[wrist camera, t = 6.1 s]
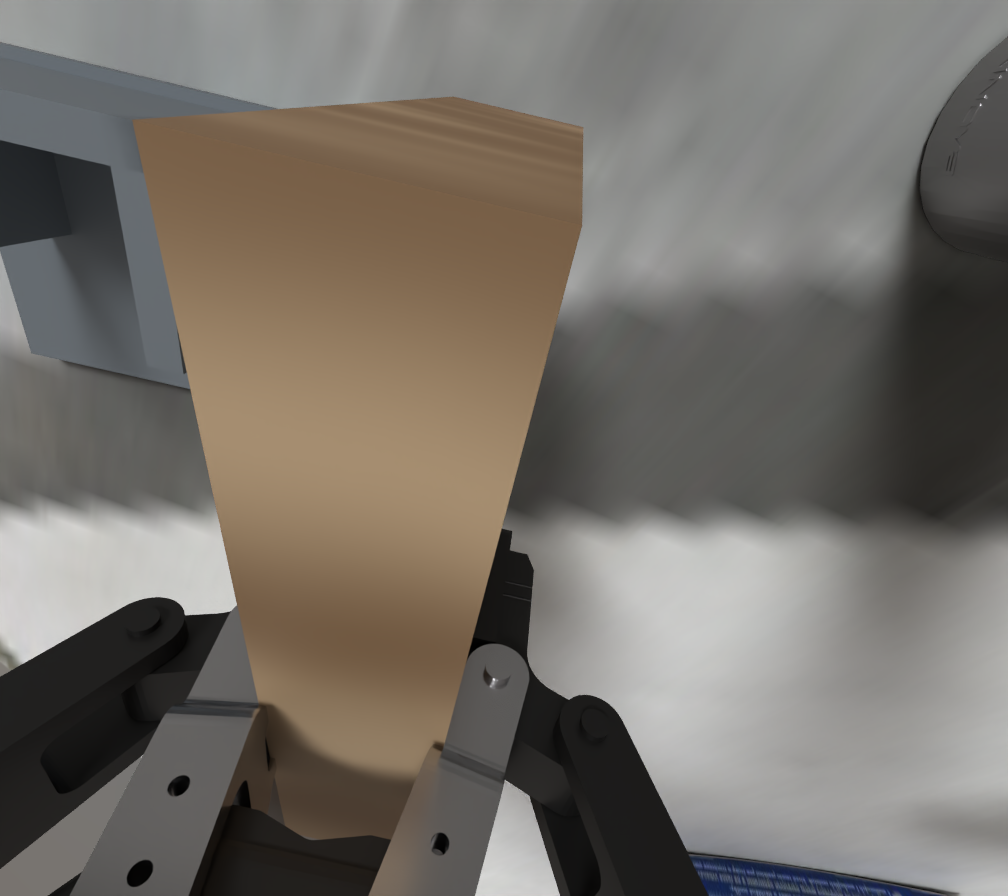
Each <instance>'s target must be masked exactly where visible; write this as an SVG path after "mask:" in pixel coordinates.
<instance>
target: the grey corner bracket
mask: <svg viewBox="0 0 1008 896" xmlns="http://www.w3.org/2000/svg"><path fill="white" fill-rule="evenodd" d="M275 109H276V108H272V107H267V106H263V105H259V104H255V103H251V102H247V101H242V100H238V99H234V98H230V97H226V96H222V95H218V94H213V93H209V92H205V91H201V90H197V89H193V88H189V87H184V86H180V85H176V84H172V83H168V82H164V81H159V80H155V79H151V78H147V77H143V76H139V75H135V74H130V73H126V72H122V71H118V70H114V69H110V68H106V67H101V66H97V65H93V64H89V63H85V62H81V61H76V60H72V59H68V58H64V57H60V56H56V55H52V54H47V53H43V52H39V51H35V50H31V49H27V48H23V47H18V46H14V45H10V44H6V43H2V42H0V252H1V255H2V259H3V262H4V265H5V268H6V272H7V275H8V278H9V281H10V285H11V288H12V291H13V294H14V298H15V301H16V304H17V307H18V311H19V314H20V317H21V321H22V324H23V327H24V330H25V334H26V337H27V340H28V343H29V347H30V350H31V353H33V354H37V355H42V356H46V357H50V358H55V359H59V360H64V361H68V362H73V363H77V364H81V365H86V366H90V367H95V368H99V369H104V370H108V371H112V372H117V373H121V374H126V375H130V376H135V377H139V378H143V379H148V380H152V381H157V382H161V383H166V384H170V385H174V386H179V387H183V388H188V389H190V385H189V380H188V375H187V371H186V366H185V361H184V357H183V352H182V348H181V343H180V338H179V334H178V329H177V324H176V320H175V315H174V311H173V306H172V301H171V297H170V292H169V288H168V283H167V278H166V274H165V269H164V264H163V260H162V255H161V251H160V246H159V241H158V237H157V232H156V228H155V223H154V218H153V214H152V209H151V204H150V200H149V195H148V191H147V186H146V181H145V177H144V172H143V168H142V163H141V158H140V154H139V149H138V144H137V140H136V135H135V131H134V126H133V121H132V120H135V119H149V118H163V117H177V116H191V115H205V114H219V113H233V112H247V111H261V110H275Z"/></svg>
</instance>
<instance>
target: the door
mask: <svg viewBox="0 0 1008 896" xmlns="http://www.w3.org/2000/svg"><path fill="white" fill-rule="evenodd" d="M132 121H133V126H134V131H135V135H136V140H137V144H138V149H139V154H140V158H141V163H142V168H143V172H144V177H145V181H146V186H147V191H148V195H149V200H150V204H151V209H152V214H153V218H154V223H155V228H156V232H157V237H158V241H159V246H160V251H161V255H162V260H163V264H164V269H165V274H166V278H167V283H168V288H169V292H170V297H171V301H172V306H173V311H174V315H175V320H176V324H177V329H178V334H179V338H180V343H181V348H182V352H183V357H184V361H185V366H186V371H187V375H188V380H189V385H190V389H191V394H192V398H193V403H194V408H195V412H196V417H197V421H198V426H199V431H200V435H201V440H202V445H203V449H204V454H205V458H206V463H207V468H208V472H209V477H210V481H211V486H212V491H213V495H214V500H215V505H216V509H217V514H218V518H219V523H220V528H221V532H222V537H223V541H224V546H225V551H226V555H227V560H228V565H229V569H230V574H231V578H232V583H233V588H234V592H235V597H236V601H237V606H238V611H239V615H240V620H241V625H242V629H243V634H244V638H245V643H246V648H247V652H248V657H249V661H250V666H251V671H252V675H253V680H254V685H255V689H256V694H257V698H258V703H259V705H264V706H266V708H267V714H268V720H269V722H268V726H267V731H266V740H267V745H268V749H269V754H270V757H271V758H275V761H276V766H277V769H276V773H275V776H274V780H273V785H272V790H271V798H270V804H269V810H268V814H267V815H268V816H270V817H272V818H273V819H275V820H276V821H278V822H280V823H281V824H283V825H285V826H286V827H288V828H289V829H291V830H293V831H294V832H296V833H297V834H299V835H301V836H302V837H304V838H306V839H309V840H322V839H333V838H344V837H356V836H367V835H373V836H377V837H382V838H386V839H392V837H393V834H394V832H395V830H396V827H397V825H398V822H399V820H400V817H401V815H402V812H403V810H404V808H405V805H406V803H407V800H408V798H409V795H410V793H411V790H412V788H413V786H414V783H415V781H416V778H417V776H418V773H419V771H420V768H421V766H422V764H423V761H424V759H425V757H426V755H427V752H428V750H429V749H430V747H432V745H433V744H436V745H440V746H444V744H445V740H446V736H447V733H448V729H449V725H450V721H451V717H452V714H453V710H454V706H455V702H456V699H457V695H458V691H459V687H460V684H461V680H462V676H463V672H464V668H465V665H466V661H467V657H468V653H469V650H470V646H471V642H472V638H473V635H474V631H475V627H476V623H477V619H478V616H479V612H480V608H481V604H482V601H483V597H484V593H485V589H486V585H487V582H488V578H489V574H490V570H491V567H492V563H493V559H494V555H495V552H496V548H497V544H498V540H499V536H500V533H501V529H502V525H503V521H504V518H505V514H506V510H507V506H508V503H509V499H510V495H511V491H512V487H513V484H514V480H515V476H516V472H517V469H518V465H519V461H520V457H521V454H522V450H523V446H524V442H525V438H526V435H527V431H528V427H529V423H530V420H531V416H532V412H533V408H534V404H535V401H536V397H537V393H538V389H539V386H540V382H541V378H542V374H543V371H544V367H545V363H546V359H547V355H548V352H549V348H550V344H551V340H552V337H553V333H554V329H555V325H556V322H557V318H558V314H559V310H560V306H561V303H562V299H563V295H564V291H565V288H566V284H567V280H568V276H569V272H570V269H571V265H572V261H573V257H574V254H575V250H576V246H577V242H578V239H579V235H580V231H581V227H582V185H583V127H580V126H575V125H571V124H567V123H563V122H558V121H554V120H550V119H546V118H542V117H537V116H533V115H529V114H525V113H520V112H516V111H512V110H508V109H503V108H499V107H495V106H491V105H486V104H482V103H478V102H474V101H469V100H465V99H461V98H457V97H443V98H429V99H415V100H401V101H387V102H373V103H359V104H345V105H331V106H317V107H303V108H289V109H275V110H261V111H247V112H233V113H219V114H205V115H191V116H177V117H163V118H149V119H135V120H132Z"/></svg>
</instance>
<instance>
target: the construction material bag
mask: <svg viewBox="0 0 1008 896" xmlns="http://www.w3.org/2000/svg"><path fill="white" fill-rule="evenodd" d="M688 855H689V857H690V859H691V861H692V863H693V865H694V867H695V869H696V871H697V873H698V875H699V877H700V879H701V881H702V883H703V885H704V887H705V889H706V891H707V893H708V895H709V896H948V895H944V894H940V893H935V892H930V891H925V890H920V889H915V888H910V887H905V886H900V885H895V884H890V883H885V882H879V881H874V880H869V879H864V878H859V877H853V876H848V875H842V874H837V873H831V872H826V871H820V870H814V869H808V868H802V867H795V866H789V865H782V864H775V863H768V862H760V861H752V860H744V859H735V858H726V857H716V856H705V855H694V854H688Z"/></svg>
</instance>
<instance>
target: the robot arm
mask: <svg viewBox="0 0 1008 896" xmlns="http://www.w3.org/2000/svg"><path fill="white" fill-rule="evenodd" d="M920 194H921V199H922V205H923V210H924V213H925V215H926V217H927V219H928V221H929V223H930V225H931V227H932V229H933V230H934V231H935V232H936V233H937V234H938V235H939V236H940V237H941V238H942V239H943V240H944V241H945V242H947V243H948V244H950V245H952V246H954V247H956V248H958V249H960V250H961V251H965V252H969V253H973V254H976V255H980V256H984V257H988V258H992V259H996V260H1000V261H1003V262H1007V263H1008V37H1007V38H1005V39H1004V40H1003V41H1002V42H1001V43H1000V44H999V45H998V46H996V47H995V48H994V49H993V50H992V51H991V52H990V53H988V54H987V55H986V56H985V57H984V58H983V59H982V60H981V61H980V62H979V63H978V64H977V65H976V66H975V68H974V69H973V70H972V71H971V72H970V73H969V74H968V76H967V77H966V78H965V79H964V80H963V81H962V82H961V84H960V85H959V86H958V88H957V89H956V91H955V92H954V94H953V95H952V97H951V98H950V100H949V101H948V103H947V104H946V106H945V107H944V109H943V110H942V112H941V114H940V116H939V118H938V120H937V122H936V125H935V127H934V129H933V131H932V133H931V135H930V138H929V140H928V143H927V147H926V151H925V154H924V158H923V162H922V166H921V179H920ZM511 538H512V531H509V530H505V529H501V533H500V536H499V540H498V544H497V548H496V552H495V555H494V559H493V563H492V567H491V570H490V574H489V578H488V582H487V585H486V589H485V593H484V597H483V601H482V604H481V608H480V612H479V616H478V619H477V623H476V627H475V631H474V635H473V638H472V642H471V646H470V650H469V653H468V657H467V661H466V665H465V668H464V672H463V676H462V680H461V684H460V687H459V691H458V695H457V699H456V702H455V706H454V710H453V714H452V717H451V721H450V725H449V729H448V733H447V736H446V740H445V744H444V746H440V745H436V744H433V745H432V747H430V749H429V750H428V752H427V755H426V757H425V759H424V761H423V764H422V766H421V768H420V771H419V773H418V776H417V778H416V781H415V783H414V786H413V788H412V790H411V793H410V795H409V798H408V800H407V803H406V805H405V808H404V810H403V812H402V815H401V817H400V820H399V822H398V825H397V827H396V830H395V832H394V834H393V837H392V839H386V838H382V837H377V836H373V835H367V836H356V837H344V838H333V839H322V840H309V839H306V838H304V837H302V836H301V835H299V834H297V833H296V832H294V831H293V830H291V829H289V828H288V827H286V826H285V825H283V824H281V823H280V822H278V821H276V820H275V819H273V818H272V817H270V816H268V815H267V814H268V810H269V804H270V798H271V790H272V785H273V780H274V776H275V773H276V769H277V766H276V761H275V758H271V757H270V754H269V749H268V745H267V740H266V731H267V726H268V722H269V720H268V714H267V708H266V706H264V705H259V703H258V698H257V694H256V689H255V685H254V680H253V675H252V671H251V666H250V661H249V657H248V652H247V648H246V643H245V638H244V634H243V629H242V625H241V620H240V615H239V611H238V606H236V607H234V609H233V610H232V611H230V612H226V613H219V614H203V615H185V614H184V610H183V608H182V606H181V605H180V604H179V603H177V602H176V601H174V600H171V599H168V598H160V597H155V598H147V599H142V600H139V601H136V602H133V603H130V604H128V605H126V606H124V607H123V608H121V609H119V610H117V611H116V612H114V613H112V614H110V615H108V616H107V617H105V618H103V619H101V620H100V621H98V622H96V623H94V624H93V625H91V626H89V627H87V628H86V629H84V630H82V631H80V632H78V633H77V634H75V635H73V636H71V637H70V638H68V639H66V640H64V641H63V642H61V643H59V644H57V645H56V646H54V647H52V648H50V649H48V650H47V651H45V652H43V653H41V654H40V655H38V656H36V657H34V658H33V659H31V660H29V661H27V662H26V663H24V664H22V665H20V666H18V667H17V668H15V669H13V670H11V671H10V672H8V673H6V674H4V675H3V676H1V677H0V869H1V868H2V867H3V866H4V865H6V864H7V863H8V862H9V861H11V860H12V859H13V858H14V857H16V856H17V855H18V854H19V853H20V852H22V851H23V850H24V849H25V848H27V847H28V846H29V845H31V844H32V843H33V842H34V841H36V840H37V839H38V838H39V837H41V836H42V835H43V834H44V833H45V832H47V831H48V830H49V829H51V828H52V827H53V826H54V825H56V824H57V823H58V822H59V821H60V820H62V819H63V818H64V817H66V816H67V815H68V814H69V813H71V812H72V811H73V810H74V809H76V808H77V807H78V806H79V805H81V804H82V803H83V802H84V801H86V800H87V799H88V798H89V797H91V796H92V795H93V794H94V793H96V792H97V791H98V790H99V789H100V788H102V787H103V786H104V785H106V784H107V783H108V782H109V781H111V780H112V779H113V778H114V777H115V776H116V775H118V774H119V773H121V772H122V771H123V770H124V769H126V768H127V767H128V766H129V765H130V764H132V763H133V762H134V761H136V760H137V759H138V758H139V757H141V756H142V755H143V754H144V755H143V756H142V758H141V760H140V762H139V764H138V766H137V768H136V770H135V772H134V774H133V776H132V778H131V780H130V782H129V783H128V785H127V787H126V789H125V791H124V793H123V795H122V797H121V798H120V800H119V802H118V804H117V806H116V808H115V810H114V812H113V814H112V816H111V818H110V819H109V821H108V823H107V825H106V827H105V829H104V831H103V833H102V835H101V837H100V839H99V841H98V843H97V845H96V846H95V848H94V850H93V852H92V854H91V856H90V858H89V860H88V862H87V863H86V866H85V867H84V869H83V871H82V872H81V873H80V874H78V875H77V876H75V877H74V878H73V879H71V880H70V881H68V882H67V883H65V884H64V885H62V886H61V887H60V888H58V889H57V890H55V891H54V892H52V893H51V894H50V895H48V896H475V893H476V889H477V885H478V882H479V878H480V874H481V870H482V866H483V862H484V859H485V855H486V851H487V847H488V843H489V840H490V836H491V832H492V828H493V824H494V820H495V817H496V813H497V809H498V805H499V801H500V798H501V794H502V790H503V785H504V780H506V781H508V782H510V783H511V784H513V785H514V786H516V787H517V788H519V789H520V790H522V791H523V792H525V793H526V794H528V795H529V796H530V799H531V803H532V806H533V809H534V813H535V816H536V819H537V822H538V825H539V829H540V832H541V835H542V838H543V842H544V845H545V848H546V851H547V854H548V858H549V861H550V864H551V867H552V871H553V874H554V877H555V880H556V883H557V887H558V890H559V893H560V896H709V895H708V893H707V891H706V889H705V887H704V885H703V883H702V881H701V879H700V877H699V875H698V873H697V871H696V869H695V867H694V865H693V863H692V861H691V859H690V857H689V855H688V853H687V851H686V849H685V847H684V845H683V843H682V840H681V838H680V836H679V834H678V832H677V830H676V828H675V826H674V824H673V822H672V820H671V818H670V816H669V814H668V812H667V810H666V808H665V806H664V804H663V802H662V800H661V798H660V796H659V794H658V792H657V790H656V788H655V786H654V784H653V782H652V780H651V778H650V776H649V774H648V772H647V770H646V768H645V766H644V764H643V762H642V760H641V758H640V755H639V753H638V751H637V749H636V747H635V745H634V743H633V741H632V739H631V737H630V735H629V733H628V731H627V729H626V727H625V725H624V723H623V721H622V719H621V718H620V716H619V714H618V713H617V712H616V711H615V710H614V709H613V708H612V707H611V706H610V705H609V704H608V703H607V702H605V701H603V700H602V699H600V698H597V697H594V696H590V695H579V696H576V697H573V698H571V699H570V700H568V699H566V698H564V697H562V696H561V695H559V694H557V693H556V692H554V691H552V690H550V689H549V688H547V687H546V686H545V685H543V684H542V683H541V682H540V681H539V680H538V679H537V678H536V676H535V675H534V673H533V672H532V670H531V668H530V666H529V663H528V658H527V646H528V634H529V622H530V610H531V598H532V585H533V573H534V570H533V567H532V565H531V562H530V560H529V558H528V555H527V554H523V553H518V552H514V551H510V544H511Z"/></svg>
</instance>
